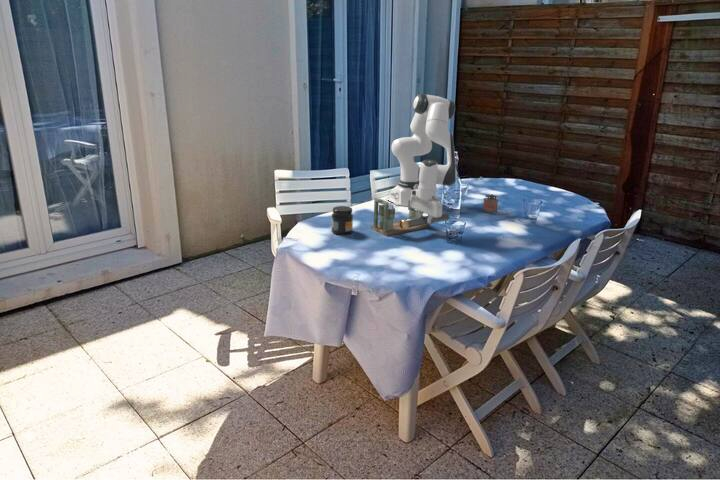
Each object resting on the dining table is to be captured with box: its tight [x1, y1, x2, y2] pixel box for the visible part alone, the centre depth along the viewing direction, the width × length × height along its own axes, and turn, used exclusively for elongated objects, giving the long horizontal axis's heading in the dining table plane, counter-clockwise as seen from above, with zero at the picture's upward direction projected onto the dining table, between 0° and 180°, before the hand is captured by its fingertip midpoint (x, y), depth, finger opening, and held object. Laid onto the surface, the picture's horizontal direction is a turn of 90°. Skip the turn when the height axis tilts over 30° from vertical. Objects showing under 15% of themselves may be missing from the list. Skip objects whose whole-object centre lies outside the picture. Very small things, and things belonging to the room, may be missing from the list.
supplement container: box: [331, 205, 354, 236], centre depth 270 cm, size 10×10×12 cm
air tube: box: [399, 212, 450, 229], centre depth 271 cm, size 28×4×4 cm, turn 124°
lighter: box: [482, 193, 499, 214], centre depth 311 cm, size 8×3×10 cm, turn 84°
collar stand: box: [370, 197, 431, 237], centre depth 277 cm, size 13×28×16 cm, turn 125°
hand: (424, 221), depth 271 cm, fingers closed on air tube, 4 cm apart
